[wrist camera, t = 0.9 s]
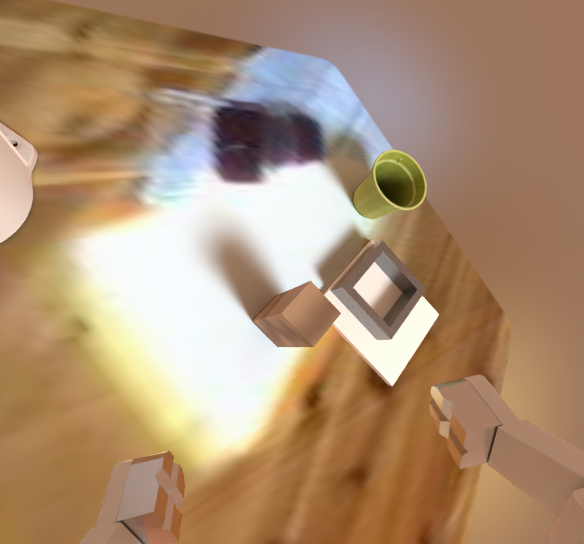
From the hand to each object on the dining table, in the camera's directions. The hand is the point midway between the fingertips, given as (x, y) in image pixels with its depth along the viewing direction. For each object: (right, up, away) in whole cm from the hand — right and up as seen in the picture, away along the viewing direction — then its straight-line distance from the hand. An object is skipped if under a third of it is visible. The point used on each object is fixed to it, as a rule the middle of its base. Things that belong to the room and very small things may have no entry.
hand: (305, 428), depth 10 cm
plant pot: (+12, +17, +47) cm, 52 cm away
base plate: (+13, -1, +43) cm, 45 cm away
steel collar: (+12, +1, +43) cm, 45 cm away
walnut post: (-3, -2, +37) cm, 37 cm away
